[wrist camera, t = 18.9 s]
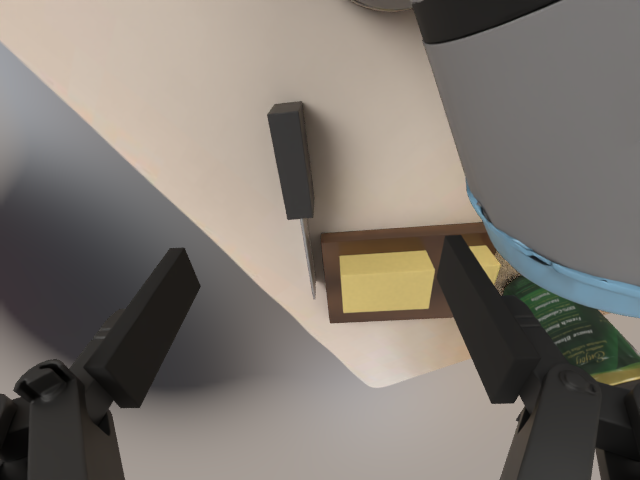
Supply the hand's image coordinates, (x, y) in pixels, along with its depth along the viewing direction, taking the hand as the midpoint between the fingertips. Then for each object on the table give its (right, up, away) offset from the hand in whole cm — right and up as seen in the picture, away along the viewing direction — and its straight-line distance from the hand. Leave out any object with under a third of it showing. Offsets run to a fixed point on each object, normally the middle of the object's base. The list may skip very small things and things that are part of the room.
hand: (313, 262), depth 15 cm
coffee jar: (+30, -6, +25) cm, 39 cm away
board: (+11, -3, +23) cm, 26 cm away
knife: (-1, +5, +18) cm, 19 cm away
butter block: (+8, -3, +21) cm, 22 cm away
